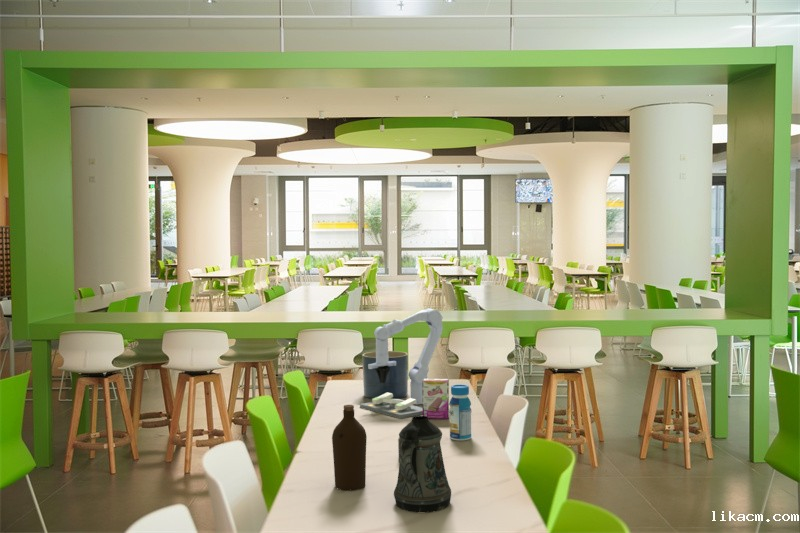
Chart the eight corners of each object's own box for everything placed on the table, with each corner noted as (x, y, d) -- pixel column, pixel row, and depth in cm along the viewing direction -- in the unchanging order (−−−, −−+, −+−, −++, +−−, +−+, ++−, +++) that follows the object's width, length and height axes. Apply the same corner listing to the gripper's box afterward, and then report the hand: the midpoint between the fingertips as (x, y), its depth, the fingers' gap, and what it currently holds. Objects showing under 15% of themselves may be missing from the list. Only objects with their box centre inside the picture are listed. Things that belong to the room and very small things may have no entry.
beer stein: (448, 493, 233) (447, 410, 233) (455, 516, 214) (454, 425, 213) (393, 494, 233) (391, 411, 232) (395, 517, 214) (393, 427, 213)
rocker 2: (398, 402, 352) (399, 398, 352) (404, 404, 349) (404, 400, 349) (383, 401, 347) (383, 397, 347) (388, 403, 343) (389, 399, 344)
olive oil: (368, 490, 237) (366, 408, 236) (333, 492, 236) (331, 410, 235) (366, 479, 248) (364, 401, 247) (332, 481, 247) (331, 402, 246)
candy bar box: (422, 419, 329) (421, 380, 329) (423, 416, 334) (422, 378, 334) (449, 419, 328) (448, 380, 328) (449, 416, 333) (448, 378, 333)
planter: (356, 399, 374) (355, 357, 373) (371, 390, 395) (370, 350, 394) (401, 401, 367) (400, 358, 367) (413, 391, 389) (413, 351, 388)
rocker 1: (388, 395, 359) (387, 391, 359) (393, 396, 356) (392, 393, 355) (372, 403, 354) (371, 399, 353) (377, 404, 350) (377, 400, 350)
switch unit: (388, 402, 365) (388, 396, 365) (429, 412, 341) (429, 406, 341) (360, 407, 355) (360, 401, 355) (400, 418, 331) (400, 412, 331)
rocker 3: (411, 401, 345) (410, 397, 345) (416, 402, 342) (416, 398, 342) (395, 408, 340) (394, 405, 340) (401, 410, 337) (400, 406, 337)
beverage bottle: (470, 441, 292) (469, 388, 291) (448, 440, 294) (447, 387, 293) (473, 435, 300) (472, 384, 300) (451, 435, 302) (450, 383, 301)
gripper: (389, 350, 365) (390, 379, 365) (364, 354, 356) (364, 383, 356) (398, 352, 359) (399, 381, 359) (373, 355, 350) (373, 385, 351)
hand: (382, 382), depth 357 cm, fingers closed
